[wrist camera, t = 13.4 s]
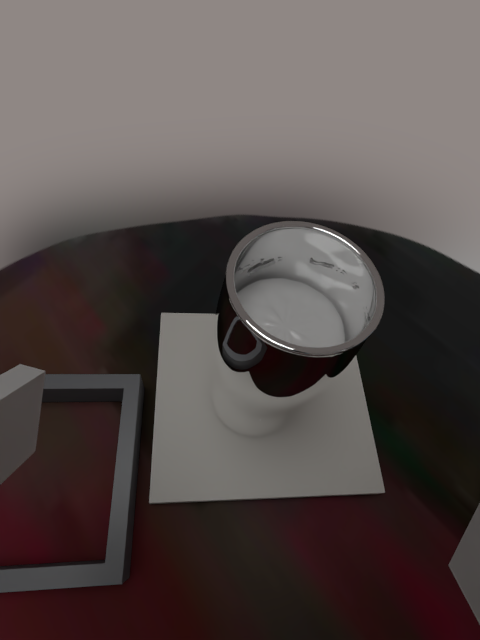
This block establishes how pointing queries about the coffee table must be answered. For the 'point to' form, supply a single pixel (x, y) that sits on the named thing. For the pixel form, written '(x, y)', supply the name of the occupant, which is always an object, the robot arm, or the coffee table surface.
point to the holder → (124, 487)
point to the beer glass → (289, 321)
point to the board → (244, 451)
